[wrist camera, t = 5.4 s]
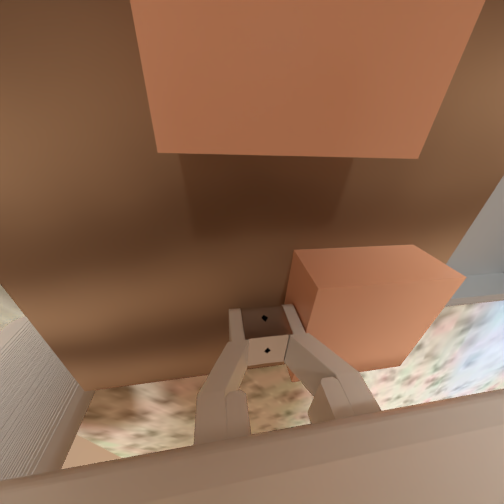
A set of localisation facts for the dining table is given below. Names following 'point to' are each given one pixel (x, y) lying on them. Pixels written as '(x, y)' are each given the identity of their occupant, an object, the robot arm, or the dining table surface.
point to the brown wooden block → (195, 197)
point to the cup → (35, 403)
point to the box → (482, 255)
